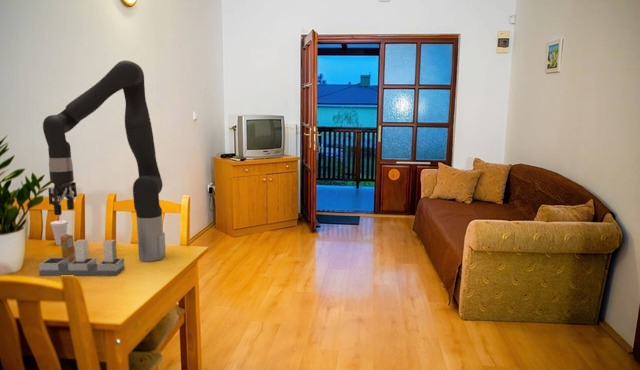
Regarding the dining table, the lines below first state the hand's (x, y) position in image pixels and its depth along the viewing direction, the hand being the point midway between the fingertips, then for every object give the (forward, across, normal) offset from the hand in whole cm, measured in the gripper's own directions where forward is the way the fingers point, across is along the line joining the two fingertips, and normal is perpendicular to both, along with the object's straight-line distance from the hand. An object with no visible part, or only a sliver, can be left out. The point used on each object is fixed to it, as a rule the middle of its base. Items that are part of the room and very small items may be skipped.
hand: (64, 212), depth 162 cm
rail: (+19, -11, -11) cm, 25 cm away
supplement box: (+19, 0, 0) cm, 19 cm away
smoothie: (+19, +20, +14) cm, 31 cm away
